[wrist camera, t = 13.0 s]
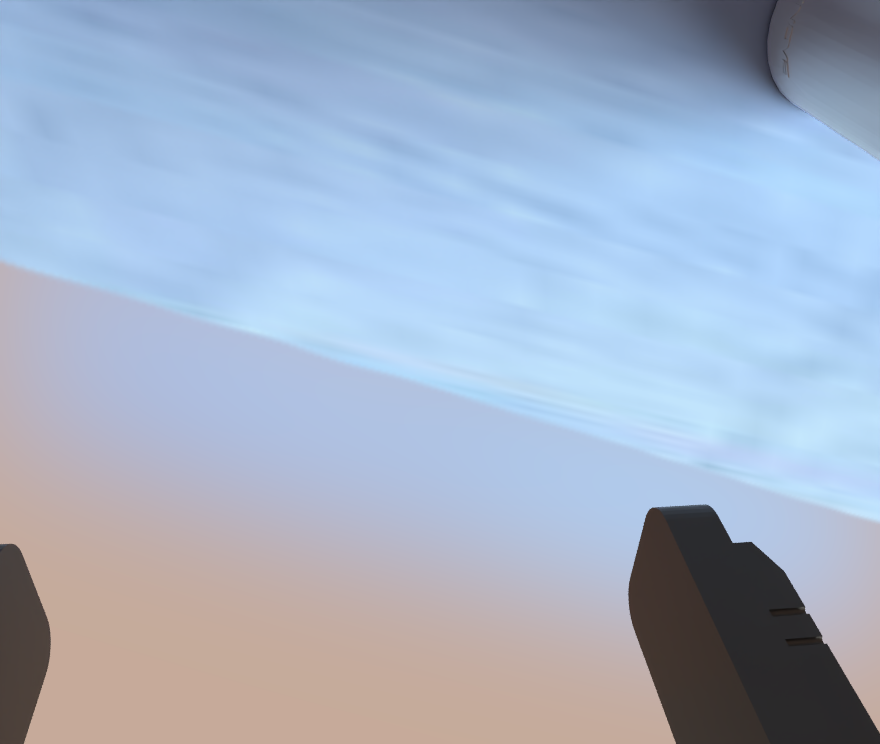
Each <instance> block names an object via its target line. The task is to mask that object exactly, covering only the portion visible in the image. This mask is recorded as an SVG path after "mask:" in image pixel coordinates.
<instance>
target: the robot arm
mask: <svg viewBox="0 0 880 744" xmlns="http://www.w3.org/2000/svg"><path fill="white" fill-rule="evenodd" d="M767 50H768V63H769V67H770V71H771V74H772V78H773V80H774V82H775V83H776V85H777V87H778V89H779V90H780V92H781V93H782V94H783V95H784V96H785V97H786V98H787V99H788V100H789V101H790V102H791V103H792V104H794V105H795V106H797V107H798V108H800V109H801V110H803V111H805V112H806V113H808V114H809V115H811V116H812V117H814V118H815V119H817V120H818V121H820V122H821V123H823V124H824V125H826V126H827V127H829V128H830V129H831V130H833V131H834V132H836V133H837V134H839V135H840V136H842V137H843V138H845V139H847V140H848V141H850V142H851V143H853V144H854V145H856V146H857V147H859V148H860V149H862V150H863V151H865V152H866V153H868V154H869V155H871V156H872V157H874V158H875V159H877V160H879V161H880V0H778V1H777V4H776V7H775V10H774V13H773V15H772V18H771V21H770V27H769V34H768V40H767ZM628 595H629V609H630V615H631V620H632V624H633V627H634V630H635V633H636V636H637V638H638V641H639V644H640V647H641V649H642V652H643V655H644V657H645V660H646V663H647V666H648V668H649V671H650V674H651V677H652V679H653V682H654V685H655V687H656V690H657V693H658V696H659V698H660V701H661V704H662V706H663V709H664V712H665V715H666V717H667V720H668V723H669V725H670V728H671V731H672V733H673V736H674V739H675V741H676V744H880V733H879V731H878V730H877V728H876V726H875V725H874V723H873V721H872V720H871V718H870V716H869V715H868V713H867V711H866V709H865V708H864V706H863V704H862V703H861V701H860V699H859V697H858V696H857V694H856V692H855V691H854V689H853V687H852V686H851V684H850V682H849V681H848V679H847V677H846V675H845V674H844V672H843V670H842V669H841V667H840V665H839V664H838V662H837V660H836V658H835V657H834V655H833V653H832V652H831V650H830V648H829V647H828V645H827V644H824V643H823V641H822V635H821V633H820V632H819V630H818V628H817V626H816V625H815V623H814V621H813V619H812V618H811V616H810V614H806V612H805V606H804V604H803V603H802V601H801V599H800V597H799V596H798V594H797V592H796V590H795V589H794V587H793V585H792V584H791V582H790V580H789V579H788V577H787V575H786V573H785V572H784V571H783V570H782V569H781V568H780V567H779V566H778V565H776V564H775V563H774V562H773V561H772V560H771V559H770V558H769V557H768V556H767V555H765V554H764V553H763V552H762V551H761V550H760V549H759V548H757V547H756V546H755V545H754V544H753V543H752V542H744V543H732V541H731V539H730V537H729V535H728V533H727V532H726V530H725V528H724V526H723V524H722V522H721V521H720V519H719V517H718V515H717V514H716V512H715V511H714V510H713V508H711V507H710V506H708V505H689V506H672V507H656V508H651V509H650V510H649V511H648V513H647V515H646V518H645V522H644V526H643V530H642V534H641V539H640V542H639V546H638V550H637V554H636V558H635V562H634V566H633V569H632V573H631V577H630V582H629V593H628ZM50 640H51V639H50V628H49V622H48V619H47V617H46V614H45V612H44V609H43V606H42V604H41V601H40V599H39V596H38V594H37V591H36V588H35V586H34V583H33V581H32V578H31V575H30V573H29V570H28V568H27V566H26V563H25V560H24V558H23V555H22V553H21V551H20V549H19V548H18V547H17V546H16V545H14V544H0V744H24V741H25V738H26V734H27V732H28V729H29V725H30V722H31V719H32V716H33V713H34V710H35V707H36V704H37V700H38V697H39V694H40V691H41V688H42V685H43V682H44V678H45V675H46V672H47V668H48V663H49V657H50V645H51V644H50V642H51V641H50Z"/></svg>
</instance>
